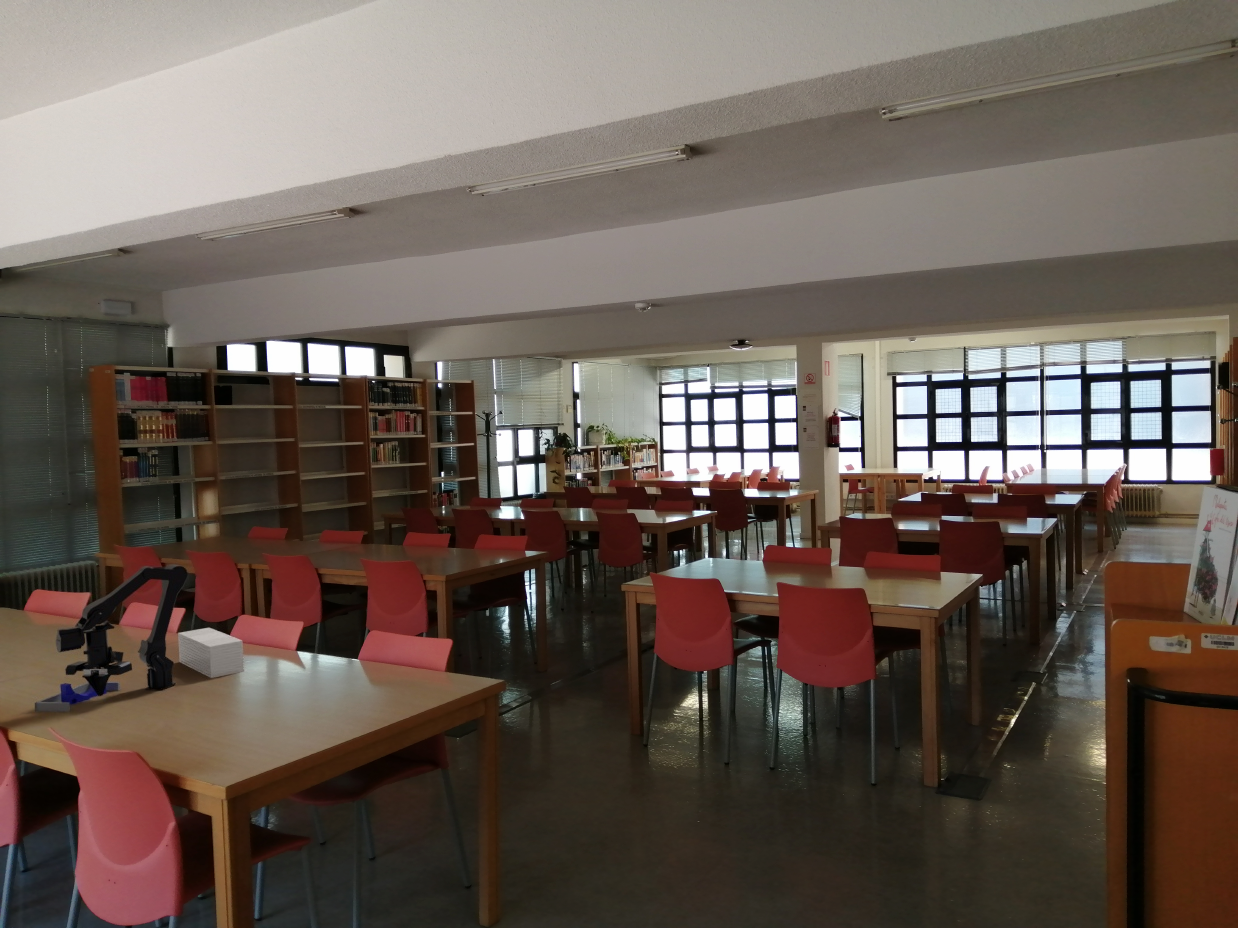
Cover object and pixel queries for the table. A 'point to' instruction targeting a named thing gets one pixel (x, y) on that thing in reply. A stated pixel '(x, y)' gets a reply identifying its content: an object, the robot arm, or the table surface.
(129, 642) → the table surface
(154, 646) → the robot arm
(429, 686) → the table surface
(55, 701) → the bracket
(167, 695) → the table surface
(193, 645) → the stack of papers
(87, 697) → the blue cradle mount
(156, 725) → the table surface
